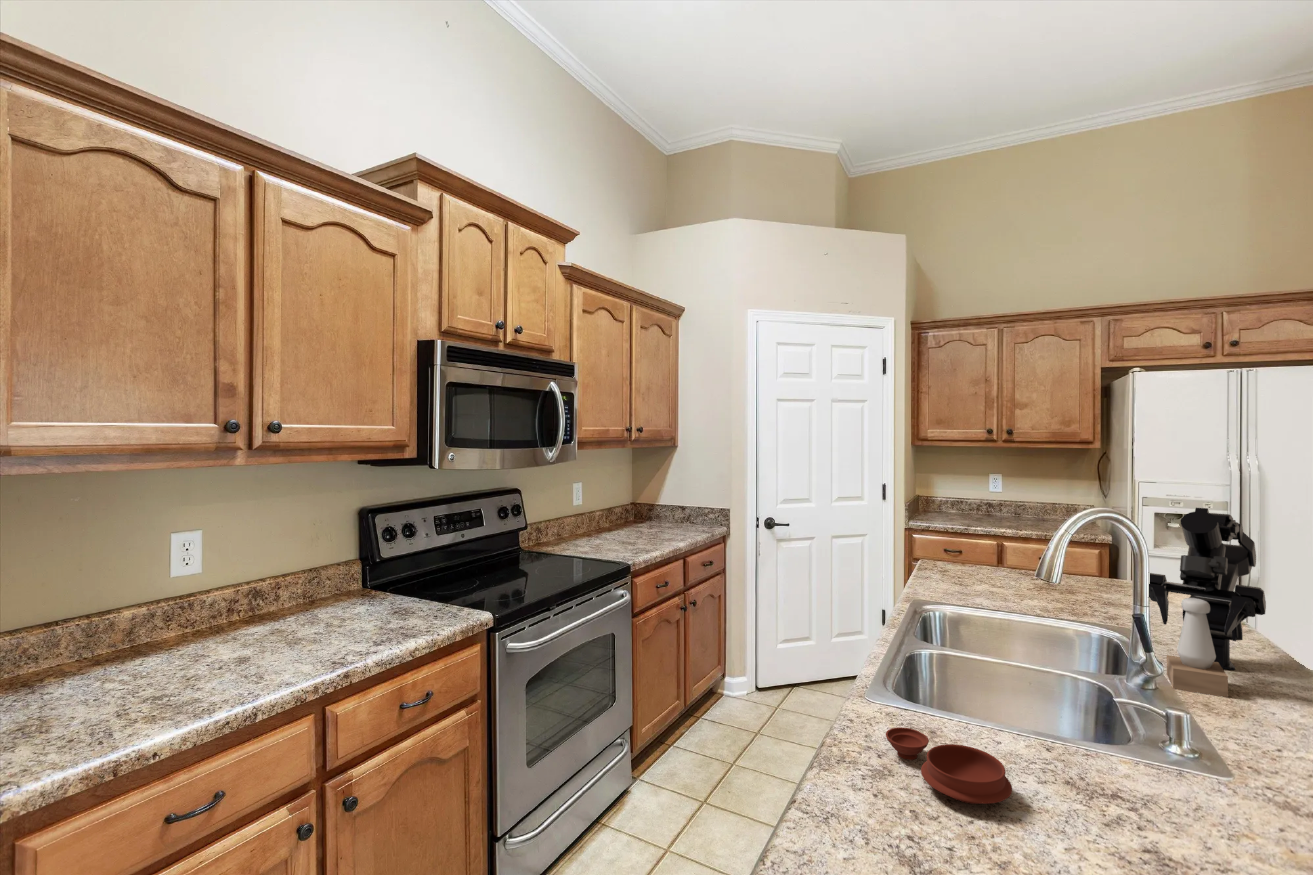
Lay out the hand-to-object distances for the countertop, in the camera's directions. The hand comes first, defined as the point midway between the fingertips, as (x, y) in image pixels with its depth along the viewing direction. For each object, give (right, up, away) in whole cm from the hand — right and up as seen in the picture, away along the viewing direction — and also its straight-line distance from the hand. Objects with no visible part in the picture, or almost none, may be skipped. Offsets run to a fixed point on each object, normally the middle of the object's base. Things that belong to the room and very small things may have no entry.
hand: (1194, 628), depth 122 cm
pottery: (-62, -14, -28) cm, 70 cm away
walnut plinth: (+1, -12, +1) cm, 12 cm away
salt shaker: (+1, -8, +1) cm, 8 cm away
